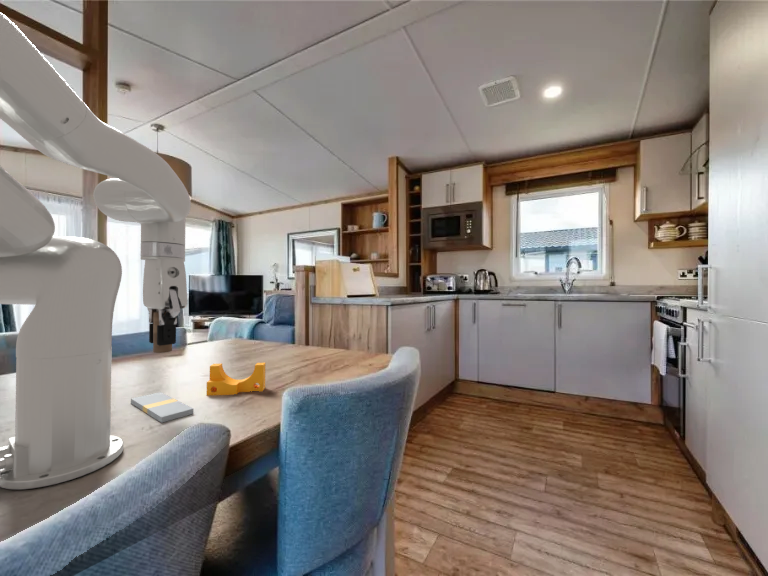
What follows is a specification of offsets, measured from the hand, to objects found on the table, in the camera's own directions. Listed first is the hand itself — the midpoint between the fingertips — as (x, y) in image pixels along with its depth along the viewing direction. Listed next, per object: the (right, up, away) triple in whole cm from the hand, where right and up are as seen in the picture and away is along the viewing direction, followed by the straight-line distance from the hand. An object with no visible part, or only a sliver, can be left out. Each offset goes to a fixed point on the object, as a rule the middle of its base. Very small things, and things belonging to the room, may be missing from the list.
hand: (162, 342), depth 66 cm
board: (0, -13, 0) cm, 13 cm away
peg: (0, -2, 0) cm, 2 cm away
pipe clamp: (+10, -14, +11) cm, 20 cm away
